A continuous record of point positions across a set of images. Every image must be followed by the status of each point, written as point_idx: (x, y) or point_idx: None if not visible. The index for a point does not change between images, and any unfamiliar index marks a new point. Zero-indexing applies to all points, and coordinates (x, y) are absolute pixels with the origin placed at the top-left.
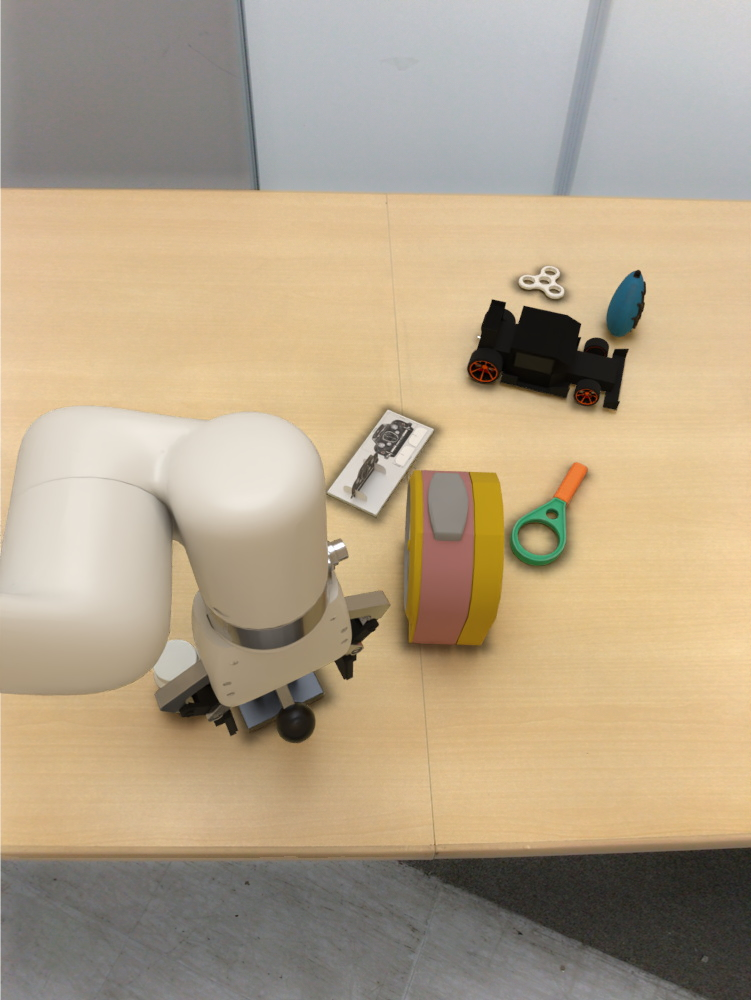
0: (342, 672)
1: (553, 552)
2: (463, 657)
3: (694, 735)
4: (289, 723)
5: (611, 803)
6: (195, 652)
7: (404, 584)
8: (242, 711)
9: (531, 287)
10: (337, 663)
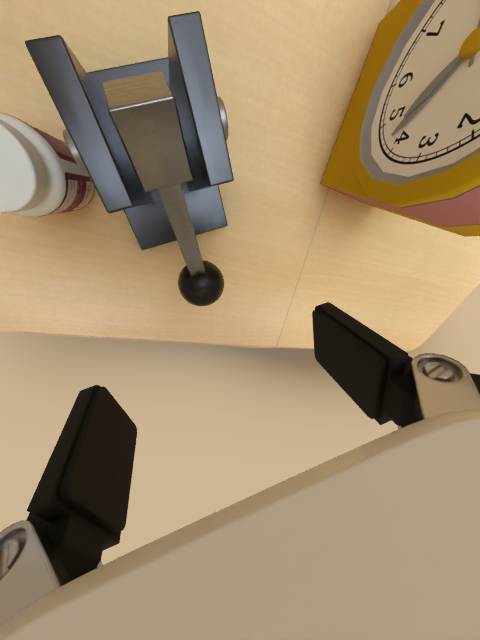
0: (326, 366)
1: None
2: (355, 215)
3: (438, 304)
4: (197, 297)
5: None
6: (28, 158)
7: (368, 106)
8: (134, 227)
9: None
10: (324, 349)
